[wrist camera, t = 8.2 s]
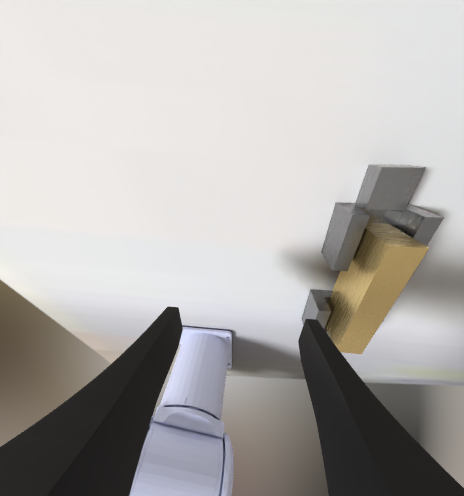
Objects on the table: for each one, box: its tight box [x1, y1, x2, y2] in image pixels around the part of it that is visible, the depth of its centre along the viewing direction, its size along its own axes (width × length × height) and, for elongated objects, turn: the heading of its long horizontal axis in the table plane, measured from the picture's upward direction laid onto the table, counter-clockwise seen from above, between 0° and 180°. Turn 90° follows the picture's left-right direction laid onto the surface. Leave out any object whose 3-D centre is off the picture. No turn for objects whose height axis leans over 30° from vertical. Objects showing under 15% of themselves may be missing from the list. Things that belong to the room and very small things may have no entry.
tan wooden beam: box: [326, 223, 429, 354], centre depth 16 cm, size 12×2×4 cm, turn 0°
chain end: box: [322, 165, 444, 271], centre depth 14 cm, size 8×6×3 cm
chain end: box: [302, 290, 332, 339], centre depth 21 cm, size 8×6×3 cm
